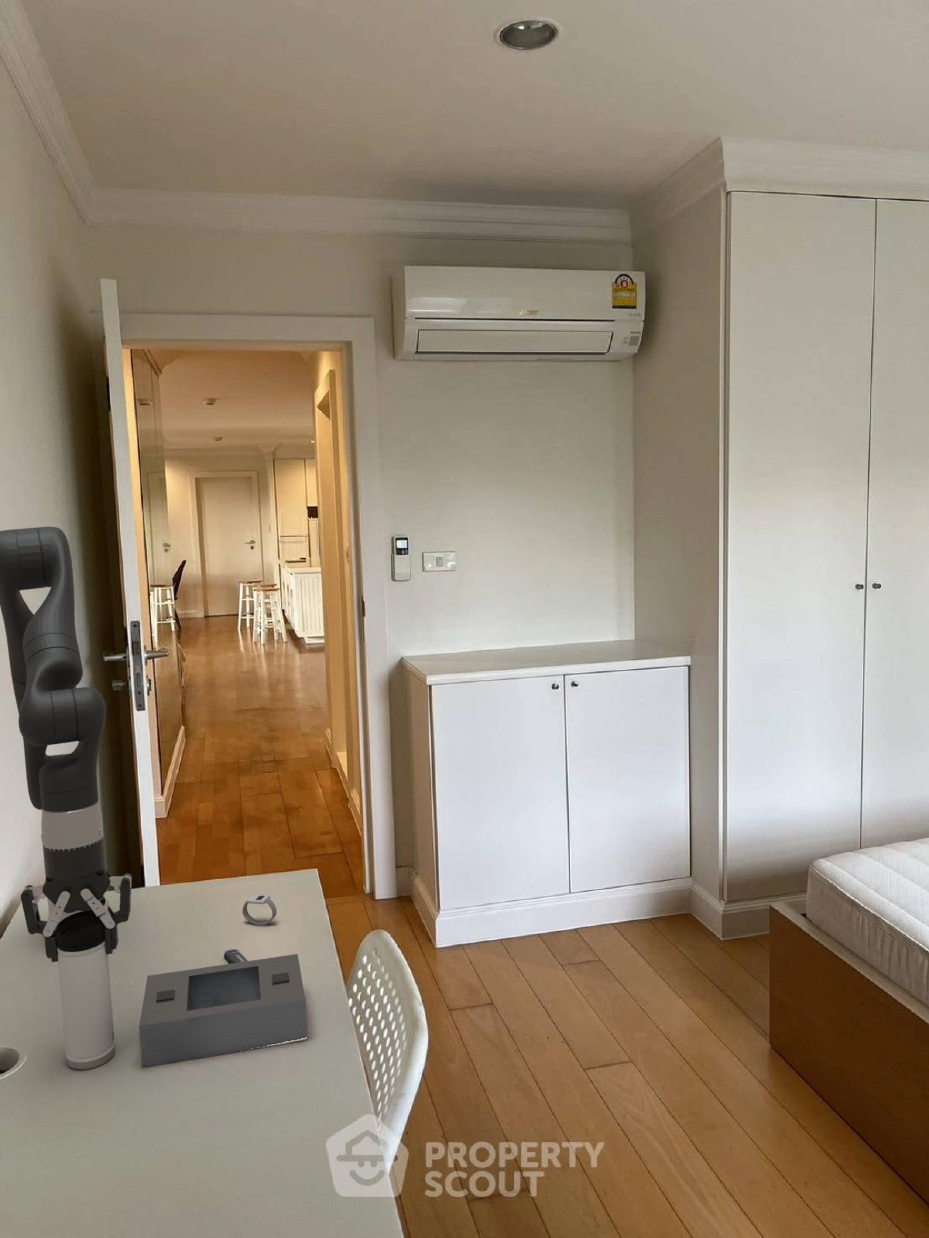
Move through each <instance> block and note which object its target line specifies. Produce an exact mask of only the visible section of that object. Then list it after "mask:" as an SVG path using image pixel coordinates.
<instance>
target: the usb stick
mask: <svg viewBox="0 0 929 1238" xmlns="http://www.w3.org/2000/svg"><path fill="white" fill-rule="evenodd" d="M223 957H224V959H225V961H227V962H228V964H232V963H239V962H245V961H248V959H247V958H246V957H245V956H244V955H243V954H242V953H241V952H240V951H239V950H238V949H237V948H236V949H235V948H234V949H228V950H226V951H224V954H223Z"/></svg>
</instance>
